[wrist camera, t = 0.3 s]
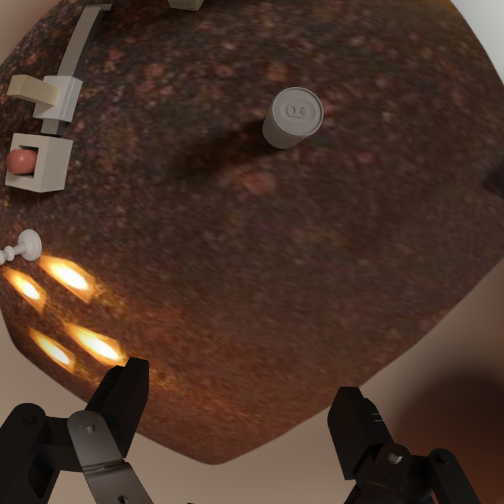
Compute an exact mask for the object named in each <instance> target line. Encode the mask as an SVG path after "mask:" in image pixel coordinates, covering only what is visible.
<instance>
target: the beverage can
mask: <svg viewBox="0 0 504 504" xmlns="http://www.w3.org/2000/svg"><path fill="white" fill-rule="evenodd" d="M322 119H323V107H322V104H321V102H320V100H319V99H318V97H317V96H316V95H315V94H314V93H312V92H311V91H309V90H307V89H304V88H300V87H292V88H288V89H285V90H283V91H282V92H280V93H278V94H277V95H276V96H275V97H274V99H273V101H272V103H271V105H270V107H269V110H268V113H267V115H266V118H265V120H264V123H263V127H262V131H263V135H264V138H265V139H266V140H267V142H268V143H270V144H271V145H272V146H274V147H276V148H280V149H287V148H290V147H292V146H294V145H295V144H297V143H299V142H300V141H302V140H303V139H305V138H307V137H308V136H310V135H312V134H313V133H315V132H316V130H317V129H318V128H319V127H320V125H321V123H322Z"/></svg>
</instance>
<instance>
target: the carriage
mask: <svg viewBox="0 0 504 504" xmlns="http://www.w3.org/2000/svg"><path fill="white" fill-rule="evenodd" d="M82 83H83V82H82V81H80V80H78V79H77V78H74V77H72V76H45V77H44V80H43V81H41V80H38V79H36V78H33V77H31V76H28V75H13V76H12V79H11V82H10V85H9V88H8V92H7V95H9V96H13V97H17V98H20V99H24V100H28V101H31V102H35V103H36V106H35V110H34V113H33V117H35V118H39V119H43V120H44V119H54V120H62V121H66V122H71V121H72V117H73V113H74V110H75V106H76V103H77V99H78V96H79V93H80V89H81V86H82Z"/></svg>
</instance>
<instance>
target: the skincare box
mask: <svg viewBox="0 0 504 504" xmlns="http://www.w3.org/2000/svg"><path fill="white" fill-rule="evenodd" d="M203 1H204V0H168V2H169V5H170V7H171V8H177V9H184V10H193V11H198V10H199V8H200V7H201V5H202V3H203Z"/></svg>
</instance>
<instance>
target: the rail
mask: <svg viewBox="0 0 504 504" xmlns="http://www.w3.org/2000/svg"><path fill="white" fill-rule="evenodd" d="M113 8H114V5H113V4H99V5H86V6H85V8H84V10H83V13H82V15H81V17H80V19H79V21H78V23H77V26H76V28H75V30H74V32H73V35H72V37H71V39H70V42H69V44H68V47H67V49H66V52H65V54H64V57H63V60H62V62H61V65H60V68H59V71H58V74H57V76H72V77H74V78H77V79H78V80H79V78H80V75H81V72H82V70H83V67H84V64H85V61H86V59H87V56H88V53H89V51H90V48H91V46H92V43H93V41H94V38H95V36H96V33H97V31H98V29H99V27H100V24H101V22H102V20H103V18H104V16H105V13H106V12H112V10H113ZM65 126H66V121H62V120H54V119H44V121H43V125H42V129H41V133H46V134H54V135H62V136H63V135H64V130H65Z"/></svg>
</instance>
